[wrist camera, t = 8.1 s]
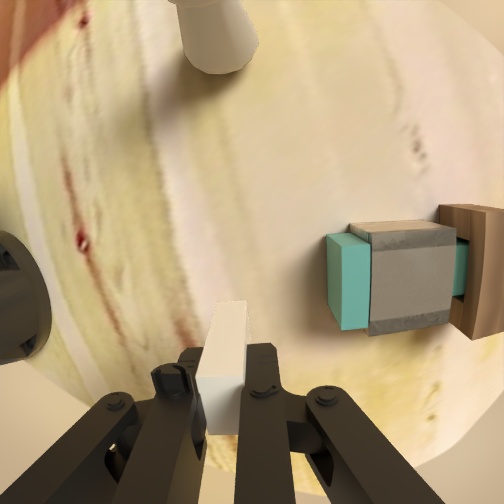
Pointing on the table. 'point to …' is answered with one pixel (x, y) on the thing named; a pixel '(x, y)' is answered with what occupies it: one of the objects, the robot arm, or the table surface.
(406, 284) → the sleeve
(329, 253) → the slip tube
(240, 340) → the robot arm
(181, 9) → the salt shaker
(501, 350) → the table surface
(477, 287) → the socket block
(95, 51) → the table surface
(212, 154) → the table surface
